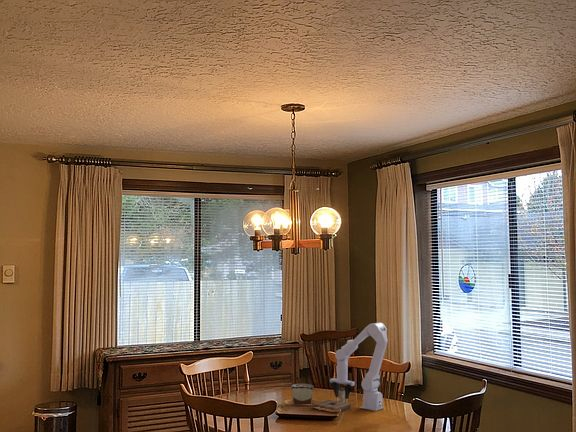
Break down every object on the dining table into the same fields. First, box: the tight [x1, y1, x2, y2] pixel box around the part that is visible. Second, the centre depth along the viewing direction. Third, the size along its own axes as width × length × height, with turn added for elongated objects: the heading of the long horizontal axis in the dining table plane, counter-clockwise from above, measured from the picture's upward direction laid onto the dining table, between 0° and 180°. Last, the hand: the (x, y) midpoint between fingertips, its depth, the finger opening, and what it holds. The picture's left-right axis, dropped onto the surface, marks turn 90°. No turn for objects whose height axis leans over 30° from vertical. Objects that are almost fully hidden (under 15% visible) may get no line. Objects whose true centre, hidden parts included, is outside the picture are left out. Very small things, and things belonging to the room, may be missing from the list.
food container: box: [290, 383, 315, 405], centre depth 319 cm, size 12×6×10 cm, turn 84°
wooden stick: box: [338, 387, 346, 403], centre depth 322 cm, size 2×2×8 cm
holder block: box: [312, 399, 352, 413], centre depth 309 cm, size 14×14×2 cm
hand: (341, 397), depth 322 cm, fingers open, 6 cm apart
